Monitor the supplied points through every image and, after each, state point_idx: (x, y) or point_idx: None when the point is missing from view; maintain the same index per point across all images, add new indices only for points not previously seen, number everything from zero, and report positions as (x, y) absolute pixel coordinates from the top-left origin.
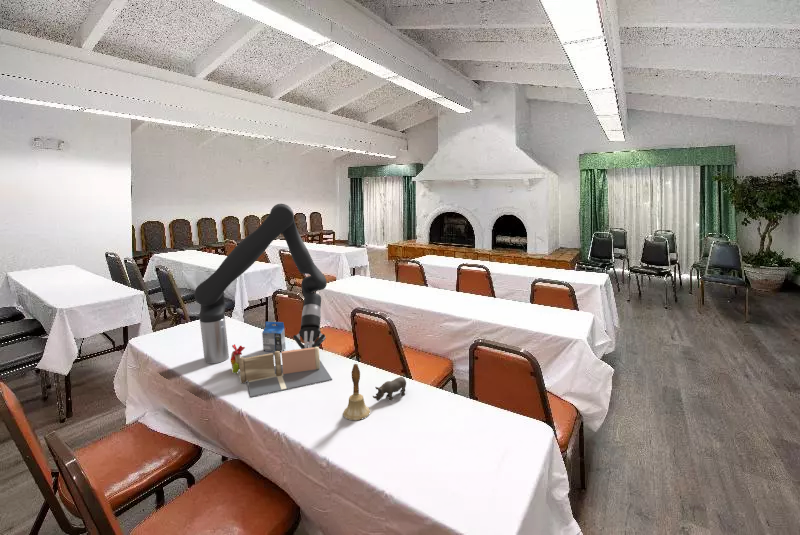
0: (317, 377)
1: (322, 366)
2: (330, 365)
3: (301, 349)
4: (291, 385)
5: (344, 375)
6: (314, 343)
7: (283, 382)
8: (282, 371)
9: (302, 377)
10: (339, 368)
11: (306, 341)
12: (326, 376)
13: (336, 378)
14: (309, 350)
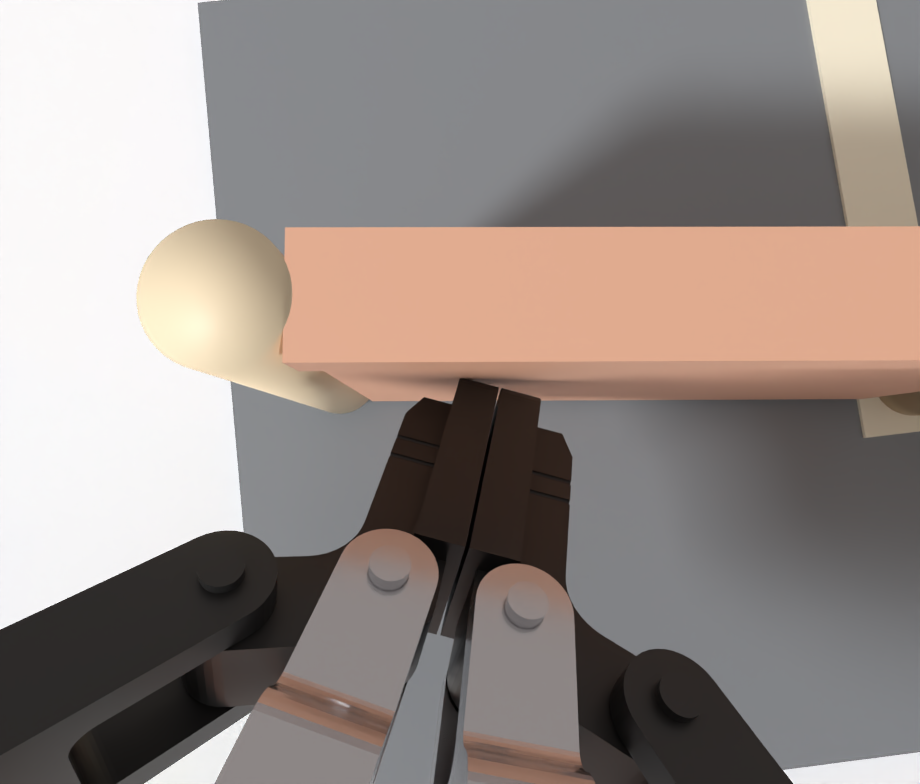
0: (382, 115)
1: (260, 453)
2: (137, 488)
3: (692, 311)
4: (736, 1)
5: (17, 90)
6: (223, 625)
7: (841, 115)
8: (862, 486)
9: (583, 185)
10: (31, 334)
11: (506, 761)
12: (258, 99)
13: (140, 40)
14: (449, 240)
